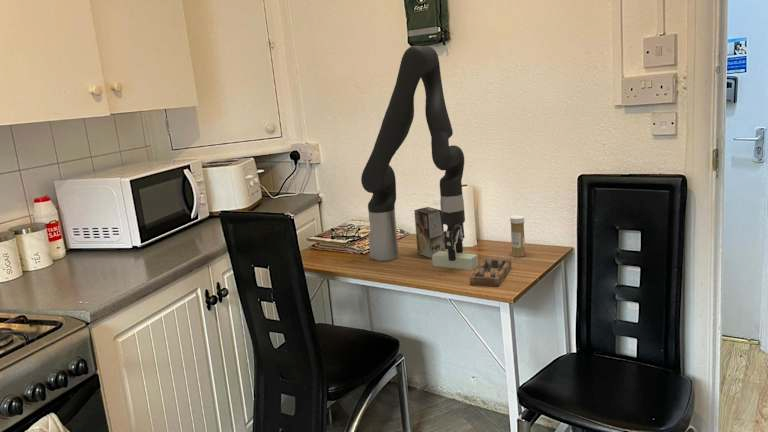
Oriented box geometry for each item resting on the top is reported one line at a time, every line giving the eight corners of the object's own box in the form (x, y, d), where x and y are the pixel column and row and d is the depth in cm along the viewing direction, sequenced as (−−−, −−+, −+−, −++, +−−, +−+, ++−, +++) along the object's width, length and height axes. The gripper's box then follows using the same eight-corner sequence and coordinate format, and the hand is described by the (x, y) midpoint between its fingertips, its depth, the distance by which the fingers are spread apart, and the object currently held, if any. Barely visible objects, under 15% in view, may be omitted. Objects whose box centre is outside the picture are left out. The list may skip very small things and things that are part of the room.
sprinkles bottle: (528, 255, 208) (527, 216, 205) (518, 258, 206) (517, 218, 203) (518, 252, 212) (517, 214, 209) (508, 255, 210) (507, 216, 207)
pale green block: (432, 266, 205) (432, 255, 205) (439, 262, 210) (439, 251, 209) (471, 271, 198) (470, 259, 197) (477, 266, 202) (477, 254, 201)
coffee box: (446, 255, 216) (443, 210, 212) (431, 259, 213) (428, 213, 209) (431, 249, 224) (428, 206, 220) (416, 253, 221) (413, 209, 217)
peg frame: (498, 286, 181) (498, 273, 180) (470, 284, 185) (469, 272, 184) (511, 267, 197) (510, 255, 196) (484, 266, 201) (484, 254, 200)
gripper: (447, 203, 207) (451, 250, 211) (434, 213, 194) (438, 263, 198) (469, 203, 204) (472, 250, 208) (457, 213, 191) (461, 263, 195)
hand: (456, 256), depth 203 cm, fingers open, 8 cm apart
